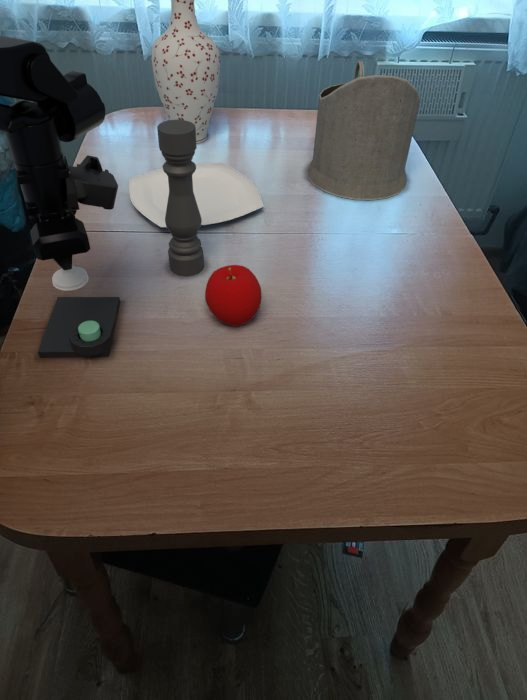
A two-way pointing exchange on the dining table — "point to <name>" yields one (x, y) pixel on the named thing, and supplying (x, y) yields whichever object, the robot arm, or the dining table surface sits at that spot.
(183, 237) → the candle holder
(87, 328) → the button
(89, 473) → the dining table surface
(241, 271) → the fruit
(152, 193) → the plate
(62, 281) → the chess piece
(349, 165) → the pitcher
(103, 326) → the black button base
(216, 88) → the vase
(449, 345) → the dining table surface
